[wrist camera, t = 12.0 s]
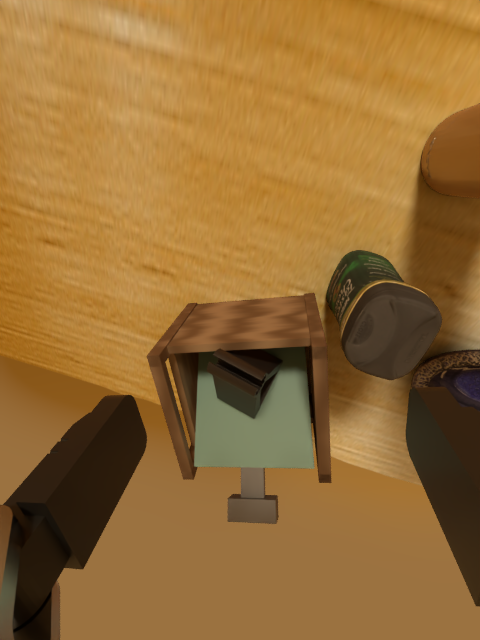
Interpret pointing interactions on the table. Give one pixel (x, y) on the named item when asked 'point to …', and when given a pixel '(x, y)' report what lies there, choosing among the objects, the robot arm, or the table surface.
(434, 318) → the coffee jar
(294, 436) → the trapdoor
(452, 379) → the dish
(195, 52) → the table surface
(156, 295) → the table surface
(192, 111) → the table surface
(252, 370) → the phone stand
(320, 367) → the wooden crate
